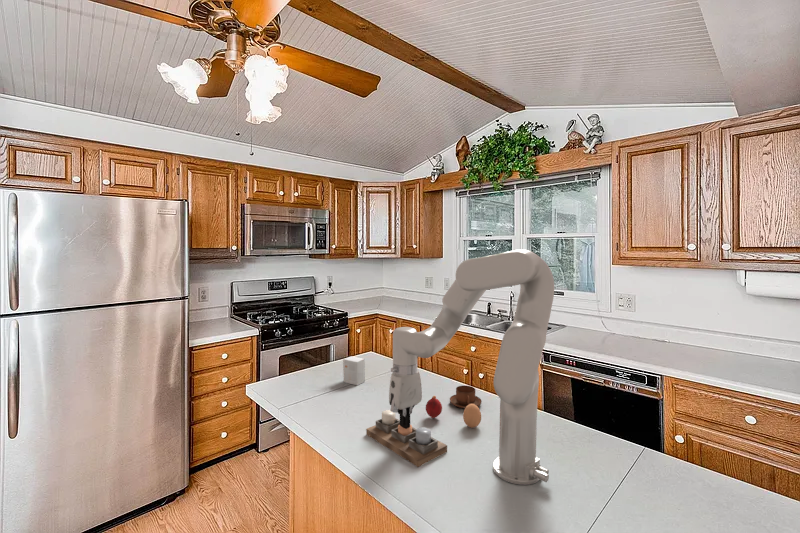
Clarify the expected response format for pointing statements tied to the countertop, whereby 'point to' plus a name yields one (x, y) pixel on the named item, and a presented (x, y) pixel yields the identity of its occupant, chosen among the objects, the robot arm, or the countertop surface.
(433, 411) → the red fruit
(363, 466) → the countertop surface
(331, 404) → the countertop surface
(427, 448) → the button board
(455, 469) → the countertop surface
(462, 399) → the cup and saucer
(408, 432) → the terracotta button
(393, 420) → the cream button
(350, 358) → the small box
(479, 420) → the egg
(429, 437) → the grey button
